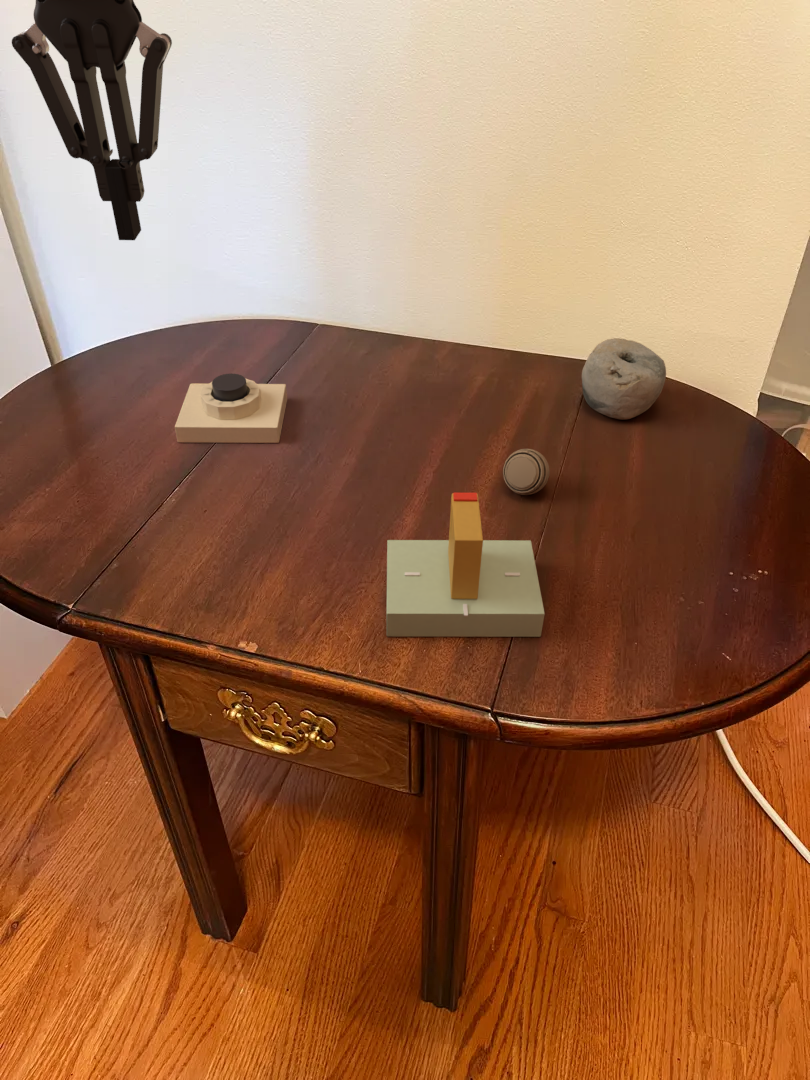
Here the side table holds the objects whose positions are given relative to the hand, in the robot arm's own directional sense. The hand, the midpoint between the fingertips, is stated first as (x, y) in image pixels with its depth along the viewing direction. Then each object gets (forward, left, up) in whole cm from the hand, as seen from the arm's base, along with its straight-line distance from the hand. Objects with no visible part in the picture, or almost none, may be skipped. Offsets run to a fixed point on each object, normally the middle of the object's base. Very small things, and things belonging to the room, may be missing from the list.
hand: (130, 234), depth 80 cm
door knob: (+40, -6, -26) cm, 48 cm away
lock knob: (+32, -23, -23) cm, 45 cm away
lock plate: (+32, -23, -26) cm, 47 cm away
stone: (+54, +12, -26) cm, 61 cm away
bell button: (+6, +8, -22) cm, 24 cm away
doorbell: (+6, +8, -26) cm, 27 cm away
